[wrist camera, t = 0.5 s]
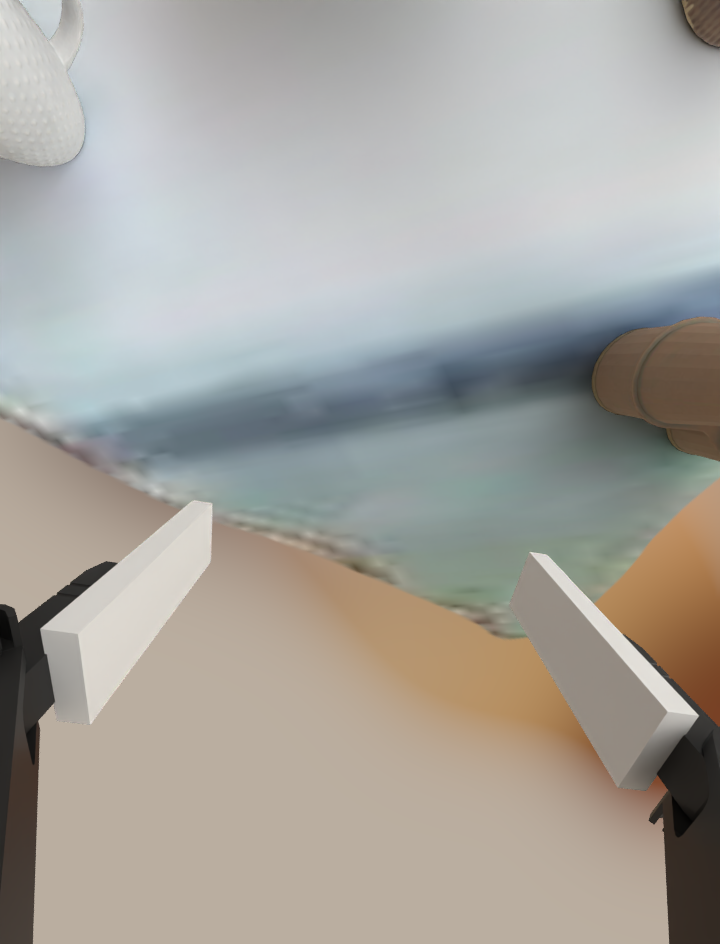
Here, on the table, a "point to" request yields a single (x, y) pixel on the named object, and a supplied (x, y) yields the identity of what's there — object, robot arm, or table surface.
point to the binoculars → (667, 381)
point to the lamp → (704, 19)
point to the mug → (39, 87)
